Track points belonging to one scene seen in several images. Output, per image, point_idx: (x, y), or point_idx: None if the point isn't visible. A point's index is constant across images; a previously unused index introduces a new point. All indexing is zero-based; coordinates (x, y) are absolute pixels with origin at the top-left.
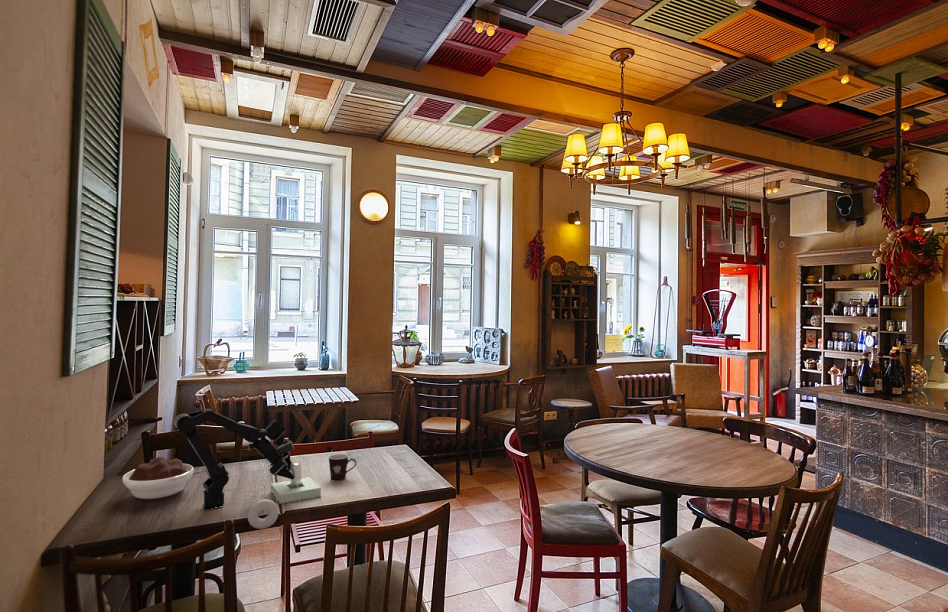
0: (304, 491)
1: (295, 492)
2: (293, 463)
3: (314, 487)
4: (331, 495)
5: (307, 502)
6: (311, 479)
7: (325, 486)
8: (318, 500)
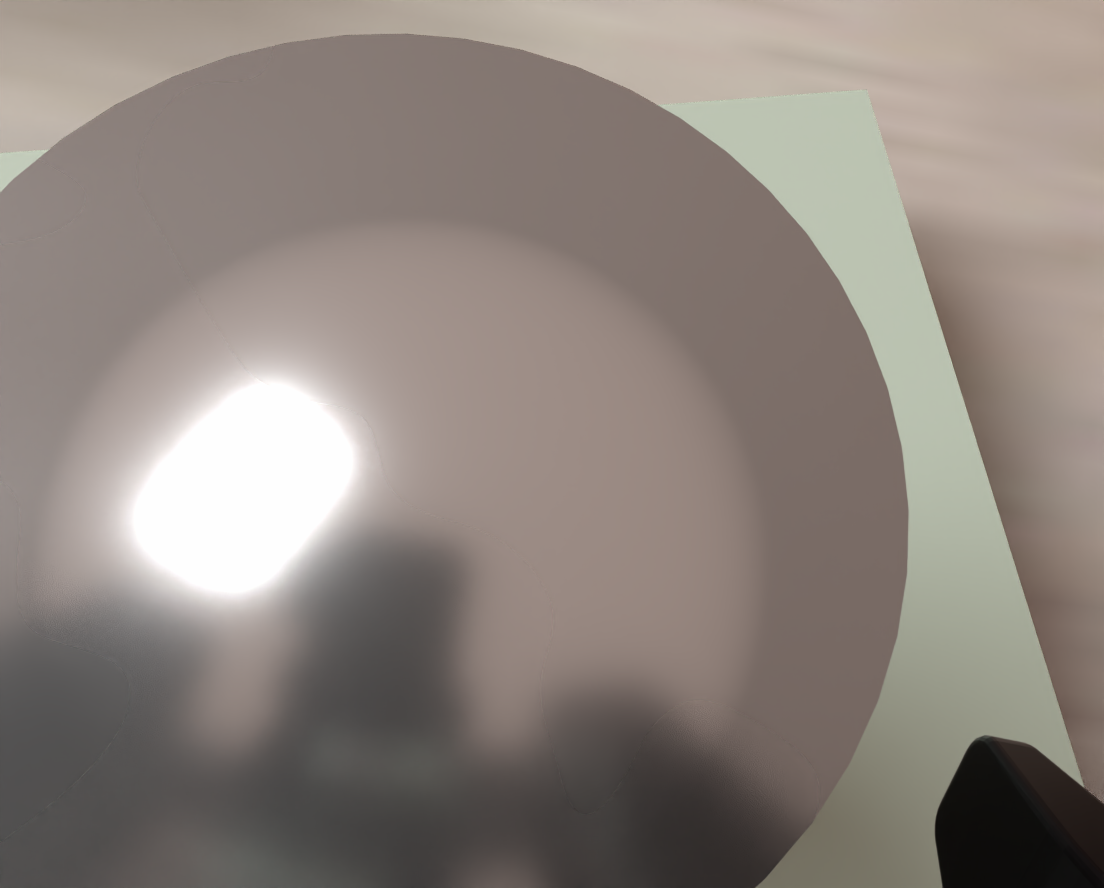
0: (976, 492)
1: (1070, 750)
2: (76, 673)
3: (804, 213)
4: (809, 31)
5: (1096, 507)
6: (23, 161)
7: (182, 10)
8: (1027, 288)
